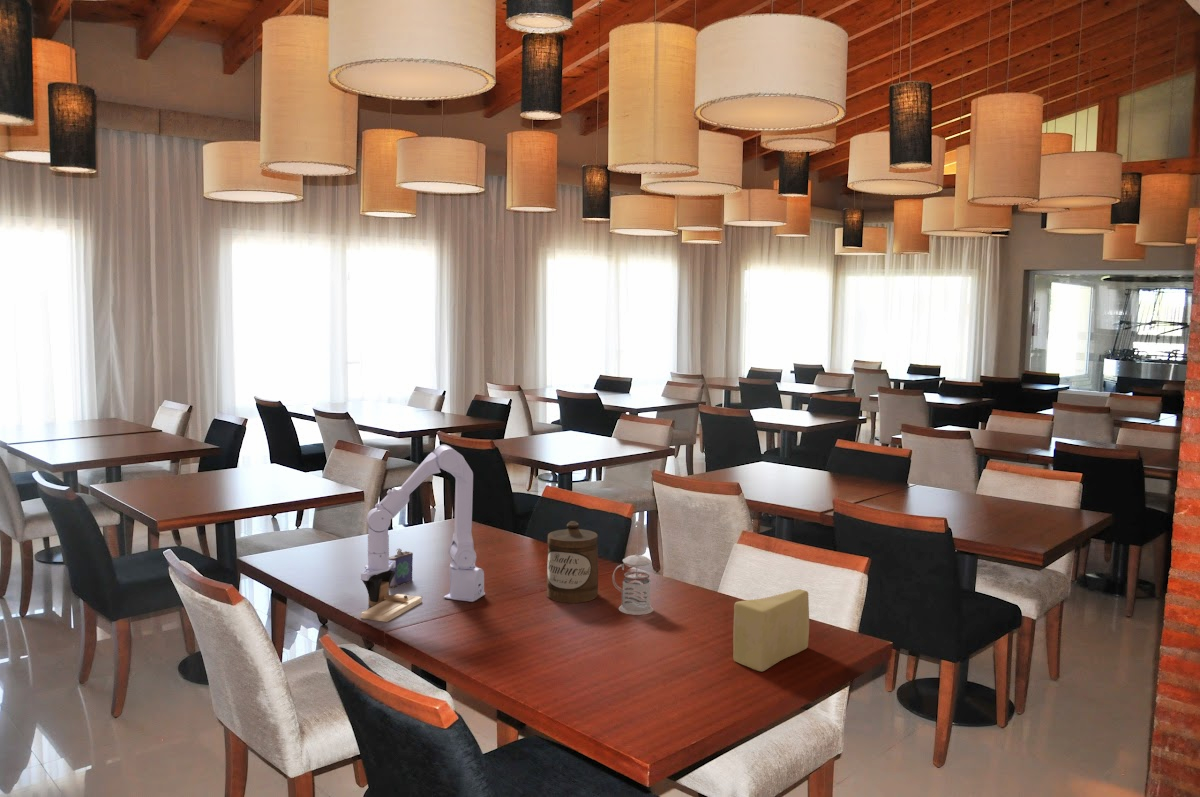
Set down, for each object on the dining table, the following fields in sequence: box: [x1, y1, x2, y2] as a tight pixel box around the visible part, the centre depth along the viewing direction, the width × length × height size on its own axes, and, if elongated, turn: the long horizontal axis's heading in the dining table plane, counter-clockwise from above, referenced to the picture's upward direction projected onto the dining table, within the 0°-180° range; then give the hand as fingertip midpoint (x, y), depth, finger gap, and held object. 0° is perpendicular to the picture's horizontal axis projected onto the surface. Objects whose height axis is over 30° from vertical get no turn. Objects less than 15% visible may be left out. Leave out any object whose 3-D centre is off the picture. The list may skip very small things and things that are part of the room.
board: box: [360, 593, 423, 623], centre depth 254 cm, size 8×18×2 cm, turn 161°
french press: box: [612, 520, 654, 616], centre depth 258 cm, size 10×12×25 cm
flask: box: [389, 548, 414, 589], centre depth 278 cm, size 9×3×11 cm, turn 146°
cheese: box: [732, 588, 810, 673], centre depth 224 cm, size 22×10×15 cm, turn 129°
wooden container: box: [546, 520, 599, 604], centre depth 269 cm, size 15×15×22 cm
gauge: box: [368, 581, 408, 607], centre depth 258 cm, size 11×4×7 cm, turn 71°
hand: (378, 599), depth 259 cm, fingers closed on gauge, 4 cm apart
